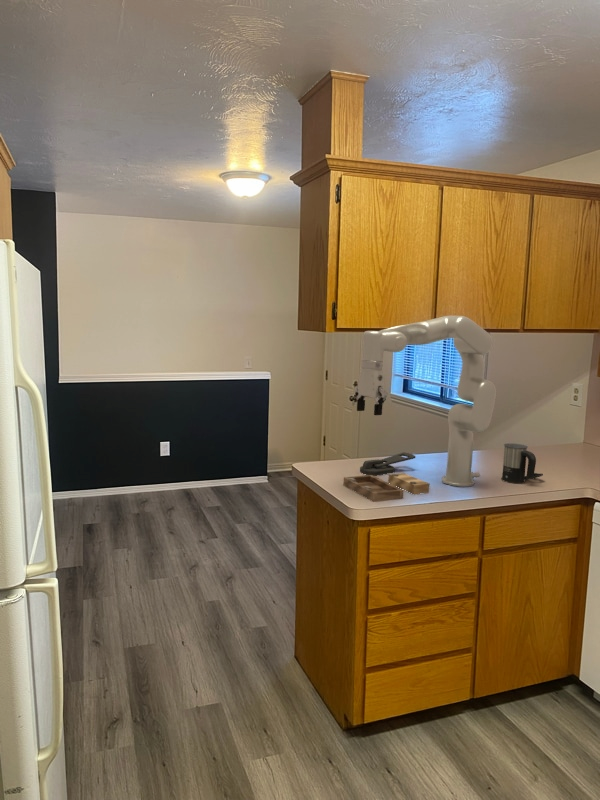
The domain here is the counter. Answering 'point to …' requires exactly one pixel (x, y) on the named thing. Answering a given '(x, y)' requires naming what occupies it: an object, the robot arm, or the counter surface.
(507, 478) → the milk frother
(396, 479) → the tan rectangular block
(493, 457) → the counter surface
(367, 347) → the robot arm
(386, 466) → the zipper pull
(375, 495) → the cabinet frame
